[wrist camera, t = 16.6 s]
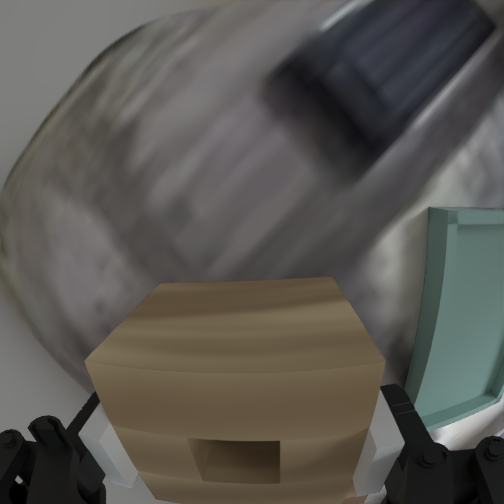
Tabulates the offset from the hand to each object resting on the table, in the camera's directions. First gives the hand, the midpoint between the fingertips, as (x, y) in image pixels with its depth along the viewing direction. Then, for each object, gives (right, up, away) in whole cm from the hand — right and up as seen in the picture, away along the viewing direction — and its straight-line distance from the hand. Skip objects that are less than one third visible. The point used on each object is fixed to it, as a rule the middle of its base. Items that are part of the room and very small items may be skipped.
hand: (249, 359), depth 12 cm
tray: (+18, -1, +5) cm, 18 cm away
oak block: (0, 0, 0) cm, 0 cm away
